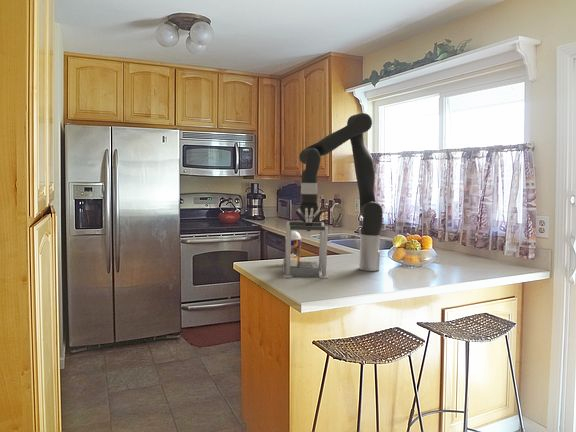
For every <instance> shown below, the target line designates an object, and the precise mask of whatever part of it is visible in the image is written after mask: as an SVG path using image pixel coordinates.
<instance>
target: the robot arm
mask: <svg viewBox="0 0 576 432" xmlns="http://www.w3.org/2000/svg"><path fill="white" fill-rule="evenodd" d="M372 125H373V119H372V117H371V115H370V114H368V113H367V112H366V113H365V112H360V113H357V114H353V115H350V117H348V118H347V121H346V125H345V126H344V127H342V128H340V129H338V130H335V131H333V132H331V133H329V134H328V135H327V136H324V137H323V138H322V139H320V140H319V141H317V142H316V143H313V144H312V145H309V146H307V147H305V148H304V149H302V150H301V152H299V155H298V156H299V160H300V162H301V163H302V164H303V165H305V169H304V170H302V172H301V184H300V185H301V186H300V205H299V208H297V210H296V209H295V211H294V213H295V214H296V215H297V216H298V218H299V219H300V220H301V222H305V223H306V224H305V226H312V222H317V220H318V219H319V218H320V217H321V215H322V214H323V211H322V210H321V209H320V208H319V205H318V192H319V191H318V190H319V189H318V188H319V187H318V172H319V169H320V164H321V157H322V156H323V157H324V156H326V155H328V154H330V153H331V152H333V151H334V150H336V149H337V148H339V147H340V146H342V145H343V144H344V143H346V142H347V141H349V140H350V144H351V150H352V157H353V164H354V165H353V166H354V171H355V176H356V177H355V178H356V183H357V188H358V194H359V197H358V198H359V213H360V215H361V217H362V218H363V219H362V226H361V228H360V237H359V238H360V242H359V259H358V260H359V261H358V269H359V270H361V271H367V272H375V271H380V261H381V259H380V258H381V251H380V238H381V237H380V236H381V230H382V224H383V208H382V206H381V204H379V202H376V197H375V192H374V188H375V187H374V186H375V179H376V177H375V176H376V170H375V163H374V158H373V156H372V154H371V152H370V151H369V149H368V147H367V145H366V143H365V138H364V133H367V132H368V131H370V129H371V128H372ZM301 213H302V214H303V215H304V217H303V216H302V215H301ZM315 214H316V215H315ZM314 215H315V216H314ZM313 216H314V217H313ZM308 222H309V223H308ZM306 232H311V230H306Z"/></svg>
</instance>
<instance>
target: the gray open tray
mask: <svg viewBox="0 0 576 432" xmlns="http://www.w3.org/2000/svg"><path fill="white" fill-rule="evenodd" d="M282 259H283V260H282V275H286V257H283V258H282ZM290 275H292V277H297V278H298V277H301V278H302V277H303V278H305V277H306V278H319V276H320V271H319V263H318V262H317V261H298V264H297V266H290Z"/></svg>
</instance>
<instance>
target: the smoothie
mask: <svg viewBox="0 0 576 432" xmlns="http://www.w3.org/2000/svg"><path fill="white" fill-rule="evenodd" d="M292 226H295V225H292ZM284 239H285V240H284V242H285V243H284V244H285V245H284V246H285V249H286V236H285V237H284ZM302 239H303V238H302V236H301V234H300V232H298V230H291V254H294V255H296V257H298V261H300V260H301V252H302V251H301V250H302V249H301V248H302Z"/></svg>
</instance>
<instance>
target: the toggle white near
mask: <svg viewBox="0 0 576 432" xmlns="http://www.w3.org/2000/svg"><path fill="white" fill-rule="evenodd" d="M290 266H297V259H295V258H290Z"/></svg>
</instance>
